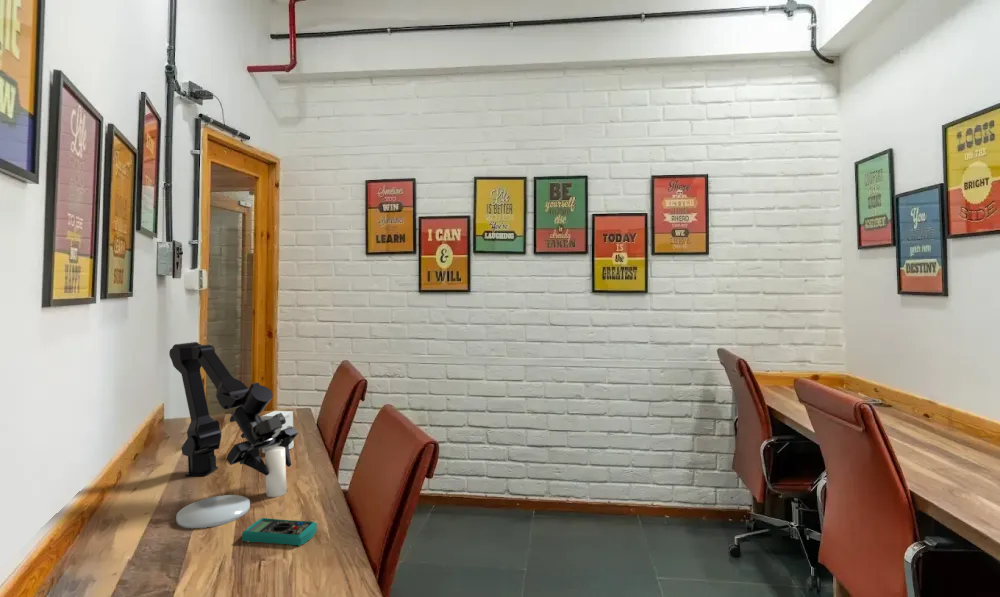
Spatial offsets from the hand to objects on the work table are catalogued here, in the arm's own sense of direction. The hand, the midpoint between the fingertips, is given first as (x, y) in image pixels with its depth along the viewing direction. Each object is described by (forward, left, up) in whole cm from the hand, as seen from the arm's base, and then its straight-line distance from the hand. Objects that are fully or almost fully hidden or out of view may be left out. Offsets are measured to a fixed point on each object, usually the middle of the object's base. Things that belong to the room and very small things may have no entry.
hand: (279, 470), depth 141 cm
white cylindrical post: (-1, +1, -7) cm, 7 cm away
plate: (-11, -11, -7) cm, 17 cm away
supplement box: (-17, +36, -7) cm, 40 cm away
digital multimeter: (+11, -22, -7) cm, 26 cm away
